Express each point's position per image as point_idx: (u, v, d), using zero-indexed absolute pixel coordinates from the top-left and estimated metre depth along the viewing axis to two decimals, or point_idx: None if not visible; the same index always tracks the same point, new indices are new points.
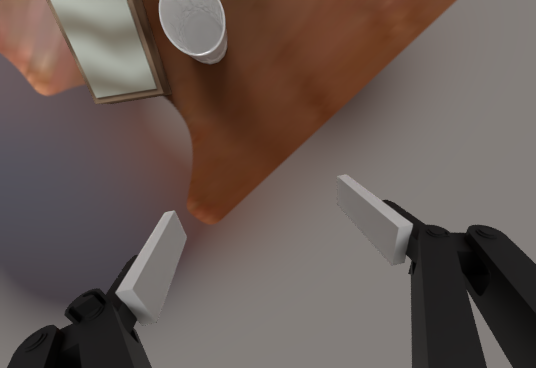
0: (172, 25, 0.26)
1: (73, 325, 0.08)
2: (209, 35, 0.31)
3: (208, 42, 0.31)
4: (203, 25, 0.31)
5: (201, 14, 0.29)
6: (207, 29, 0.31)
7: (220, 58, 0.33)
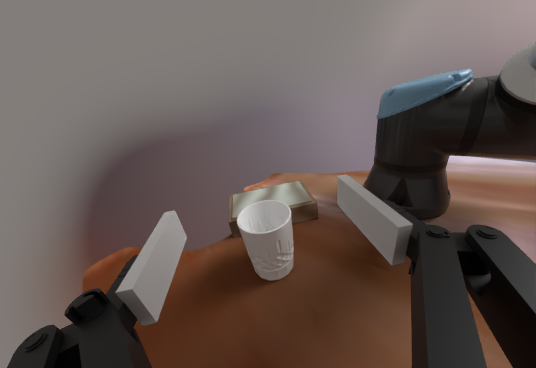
0: (267, 217, 0.32)
1: (73, 325, 0.08)
2: None
3: None
4: None
5: None
6: None
7: (256, 270, 0.30)
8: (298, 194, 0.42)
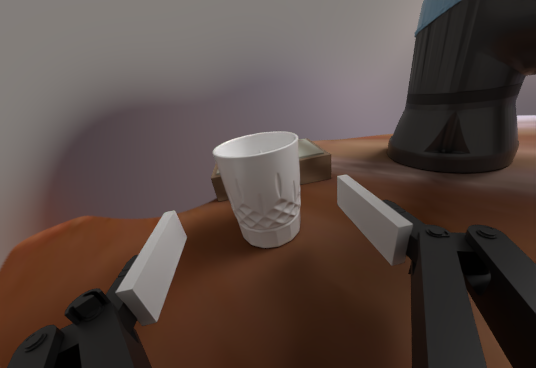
0: None
1: (73, 325, 0.08)
2: None
3: None
4: None
5: None
6: None
7: (244, 233, 0.20)
8: (305, 148, 0.32)
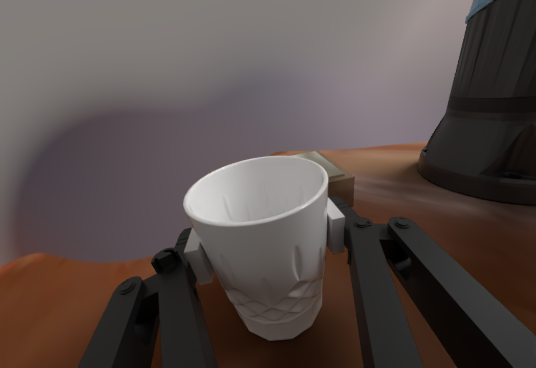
0: (266, 195, 0.15)
1: (151, 278, 0.10)
2: None
3: None
4: None
5: None
6: None
7: (239, 313, 0.13)
8: None
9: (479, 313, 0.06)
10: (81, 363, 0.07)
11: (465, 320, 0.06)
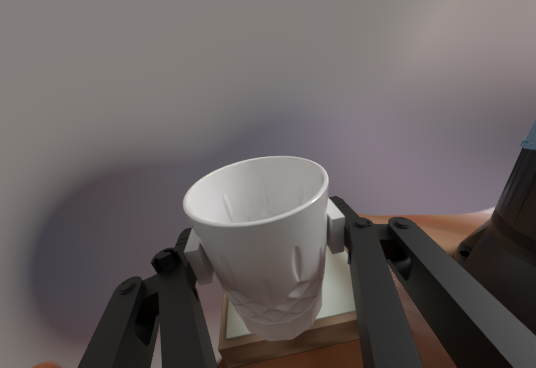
0: (266, 195, 0.15)
1: (151, 278, 0.10)
2: None
3: None
4: None
5: None
6: None
7: (238, 313, 0.13)
8: (347, 279, 0.23)
9: (479, 313, 0.06)
10: (81, 363, 0.07)
11: (465, 321, 0.06)
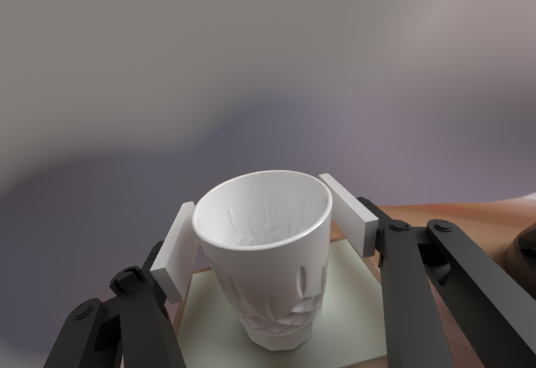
0: (269, 207, 0.16)
1: (113, 299, 0.09)
2: None
3: None
4: None
5: None
6: None
7: (241, 323, 0.13)
8: (364, 298, 0.15)
9: (526, 326, 0.05)
10: None
11: (508, 332, 0.06)
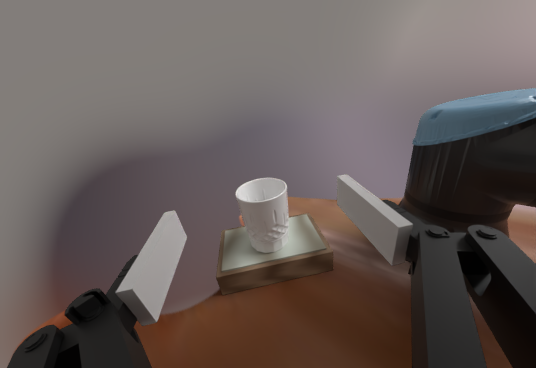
0: (264, 195, 0.34)
1: (73, 325, 0.08)
2: None
3: None
4: None
5: None
6: None
7: (252, 243, 0.31)
8: (308, 236, 0.33)
9: None
10: None
11: None
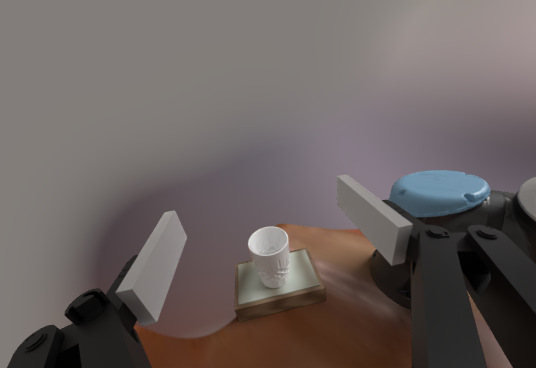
0: (270, 239, 0.42)
1: (73, 325, 0.08)
2: None
3: None
4: None
5: None
6: None
7: (261, 280, 0.40)
8: (305, 272, 0.41)
9: None
10: None
11: None
